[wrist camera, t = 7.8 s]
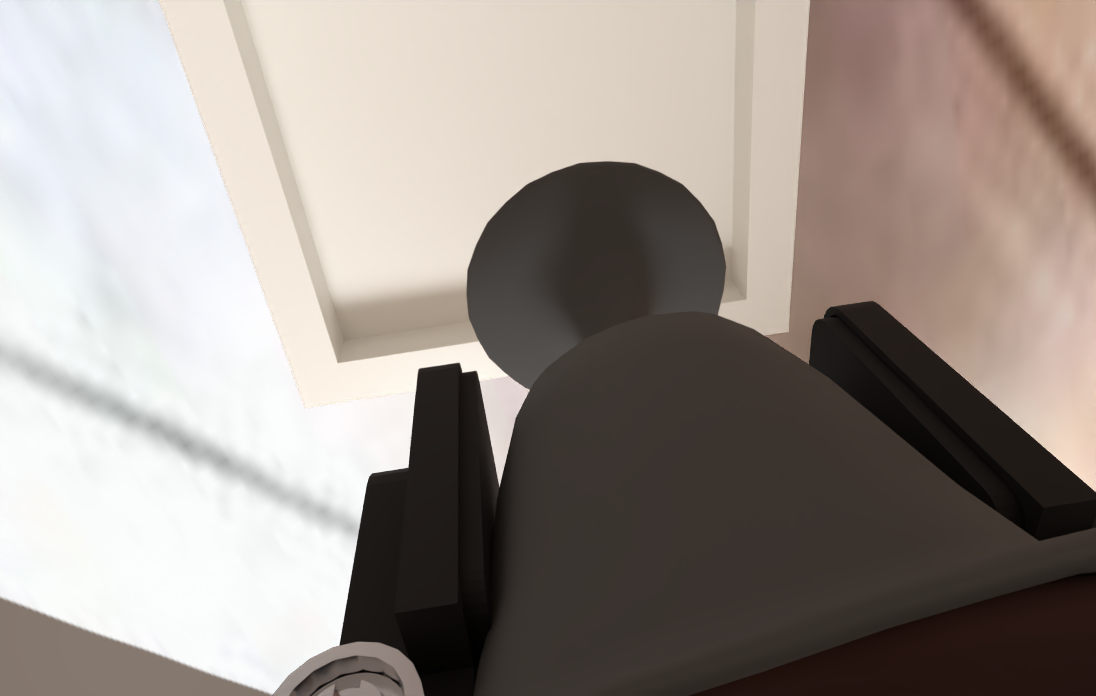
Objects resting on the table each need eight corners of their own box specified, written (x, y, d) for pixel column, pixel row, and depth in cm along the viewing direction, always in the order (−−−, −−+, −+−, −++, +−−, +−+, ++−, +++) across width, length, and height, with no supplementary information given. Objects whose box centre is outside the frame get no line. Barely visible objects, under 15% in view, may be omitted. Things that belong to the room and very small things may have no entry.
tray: (763, 302, 35) (788, 331, 32) (316, 372, 34) (304, 408, 31) (789, -282, 24) (829, -309, 21) (124, -198, 23) (81, -215, 20)
